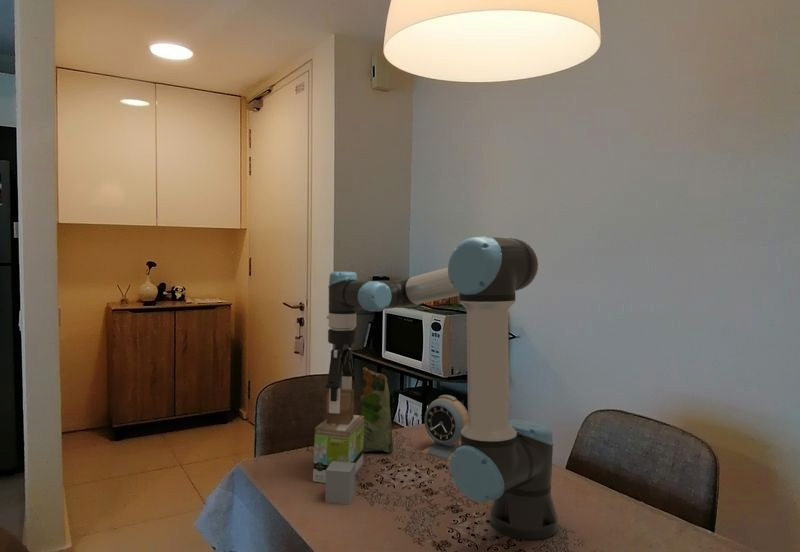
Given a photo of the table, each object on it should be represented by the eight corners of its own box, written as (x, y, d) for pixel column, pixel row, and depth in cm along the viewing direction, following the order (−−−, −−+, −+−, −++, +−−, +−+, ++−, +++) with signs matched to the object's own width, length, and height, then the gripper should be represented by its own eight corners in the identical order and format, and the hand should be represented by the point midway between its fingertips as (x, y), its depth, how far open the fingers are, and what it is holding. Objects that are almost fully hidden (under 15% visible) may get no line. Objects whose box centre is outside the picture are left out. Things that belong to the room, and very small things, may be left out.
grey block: (349, 504, 136) (350, 472, 136) (325, 502, 137) (325, 470, 137) (354, 494, 142) (355, 462, 142) (331, 492, 143) (332, 461, 143)
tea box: (348, 486, 147) (349, 430, 146) (312, 482, 149) (312, 427, 148) (363, 465, 161) (364, 414, 161) (330, 461, 163) (331, 411, 163)
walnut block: (348, 424, 151) (349, 395, 151) (326, 423, 152) (327, 393, 151) (353, 418, 157) (353, 389, 157) (332, 416, 158) (332, 388, 157)
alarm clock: (417, 451, 173) (419, 394, 173) (435, 443, 181) (436, 388, 180) (457, 463, 165) (459, 403, 164) (474, 453, 173) (476, 396, 172)
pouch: (387, 458, 167) (389, 374, 166) (349, 453, 170) (351, 371, 169) (397, 446, 178) (399, 367, 177) (361, 441, 181) (363, 364, 180)
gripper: (339, 322, 166) (338, 393, 167) (315, 334, 141) (314, 418, 142) (364, 323, 165) (363, 395, 166) (344, 335, 140) (343, 420, 141)
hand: (340, 405), depth 154 cm, fingers open, 13 cm apart
